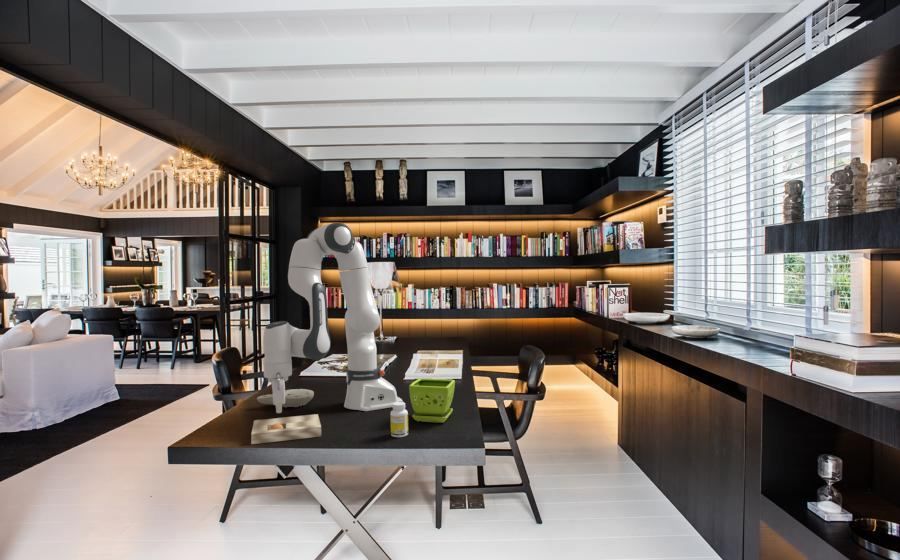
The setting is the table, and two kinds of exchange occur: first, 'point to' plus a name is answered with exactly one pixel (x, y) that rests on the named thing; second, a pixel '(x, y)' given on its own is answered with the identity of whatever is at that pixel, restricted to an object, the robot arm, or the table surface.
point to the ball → (276, 426)
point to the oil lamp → (290, 397)
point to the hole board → (286, 429)
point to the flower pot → (432, 399)
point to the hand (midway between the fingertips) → (279, 411)
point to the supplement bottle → (399, 420)
